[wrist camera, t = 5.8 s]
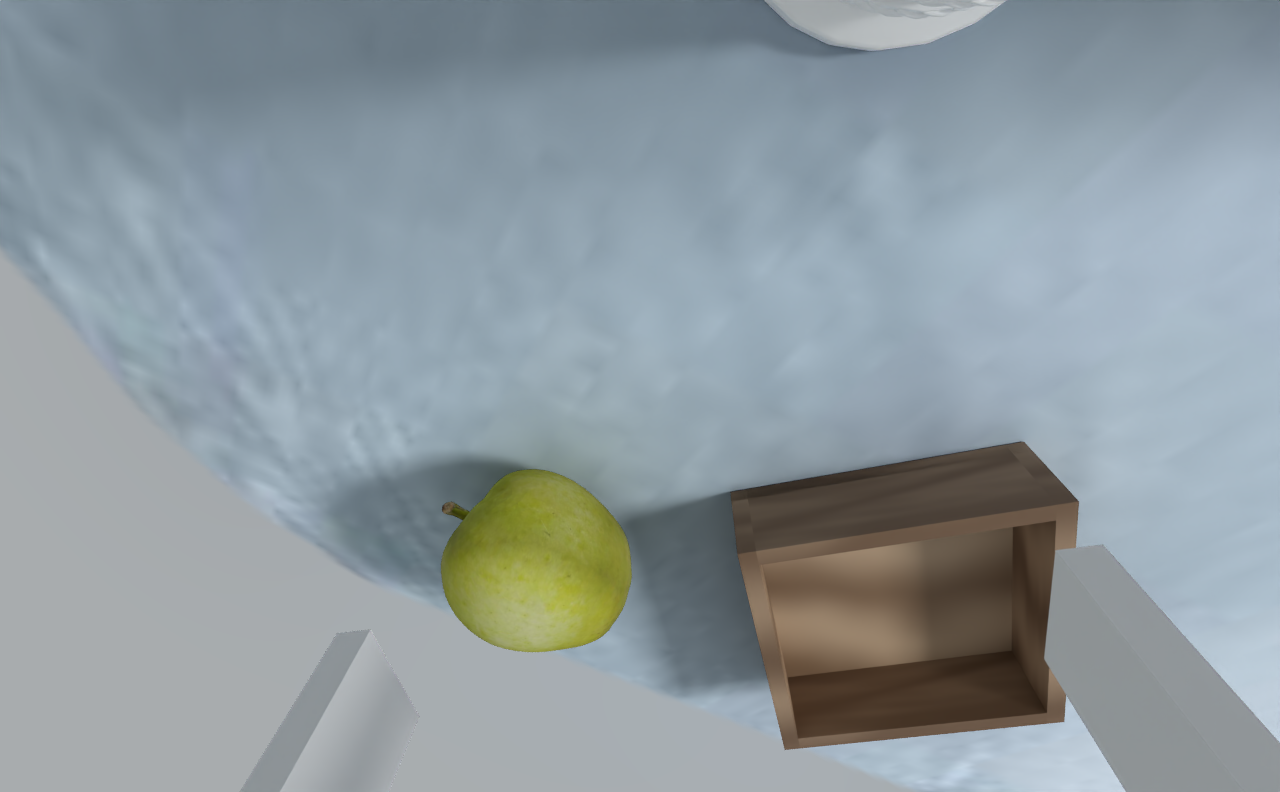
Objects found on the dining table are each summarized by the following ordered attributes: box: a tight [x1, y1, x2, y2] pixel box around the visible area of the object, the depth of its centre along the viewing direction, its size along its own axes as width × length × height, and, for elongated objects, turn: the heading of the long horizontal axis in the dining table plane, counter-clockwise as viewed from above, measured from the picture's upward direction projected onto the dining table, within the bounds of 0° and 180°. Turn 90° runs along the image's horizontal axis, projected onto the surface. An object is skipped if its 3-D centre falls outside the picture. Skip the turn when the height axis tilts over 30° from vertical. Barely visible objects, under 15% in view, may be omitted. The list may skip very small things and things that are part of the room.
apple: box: [441, 469, 632, 652], centre depth 29 cm, size 8×9×8 cm
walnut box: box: [730, 442, 1079, 750], centre depth 31 cm, size 14×14×4 cm
